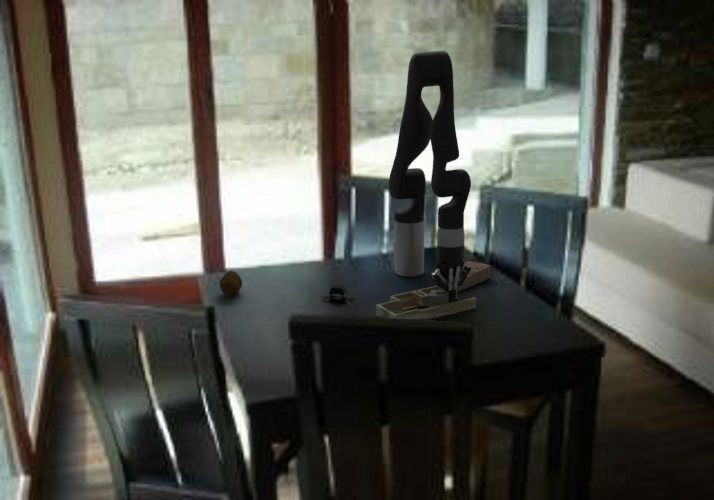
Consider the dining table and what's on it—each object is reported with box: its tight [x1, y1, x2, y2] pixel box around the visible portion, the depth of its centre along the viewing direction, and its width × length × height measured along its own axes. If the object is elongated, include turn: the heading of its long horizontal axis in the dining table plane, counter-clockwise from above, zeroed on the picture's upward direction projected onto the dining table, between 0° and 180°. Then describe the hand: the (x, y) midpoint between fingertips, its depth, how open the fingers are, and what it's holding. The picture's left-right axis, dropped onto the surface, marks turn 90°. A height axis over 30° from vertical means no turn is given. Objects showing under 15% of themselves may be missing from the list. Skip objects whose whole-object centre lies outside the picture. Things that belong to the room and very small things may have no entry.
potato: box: [219, 270, 243, 298], centre depth 244 cm, size 7×12×7 cm, turn 9°
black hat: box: [320, 284, 357, 305], centre depth 238 cm, size 12×7×5 cm, turn 75°
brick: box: [440, 260, 492, 292], centre depth 251 cm, size 17×8×5 cm, turn 136°
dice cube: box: [427, 290, 449, 308], centre depth 228 cm, size 5×5×5 cm
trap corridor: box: [375, 285, 477, 319], centre depth 229 cm, size 15×27×4 cm, turn 120°
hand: (450, 301), depth 230 cm, fingers closed
